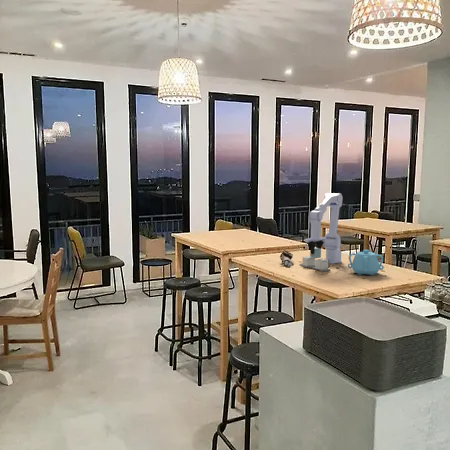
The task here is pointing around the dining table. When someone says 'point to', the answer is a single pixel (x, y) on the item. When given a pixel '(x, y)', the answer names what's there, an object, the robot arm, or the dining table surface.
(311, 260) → the mounted module
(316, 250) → the block
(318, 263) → the block
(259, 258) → the dining table surface
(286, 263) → the figurine
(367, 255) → the decorative pot
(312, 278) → the dining table surface
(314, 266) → the rail
